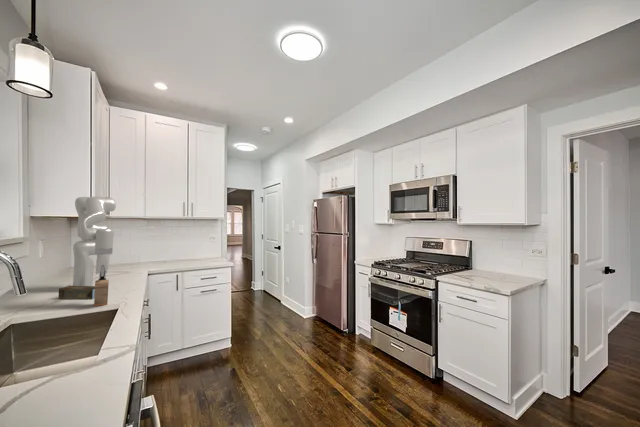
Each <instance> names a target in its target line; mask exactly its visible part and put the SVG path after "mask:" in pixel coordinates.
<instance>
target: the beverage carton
mask: <svg viewBox="0 0 640 427" xmlns="http://www.w3.org/2000/svg"><path fill="white" fill-rule="evenodd" d="M94 294H95V285H92V286H73V285H67V286H64V287H60V288H58V297H57V298H58V300H94Z"/></svg>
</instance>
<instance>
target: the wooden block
mask: <svg viewBox="0 0 640 427" xmlns="http://www.w3.org/2000/svg"><path fill="white" fill-rule="evenodd" d="M109 283H110V282H109V279H106V280H98V279H97V280H96V279H95V281H94V286H95V294H94V299H93V304H94V305H93V307H99V306H107V305H108V297H109Z"/></svg>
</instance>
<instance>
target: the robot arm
mask: <svg viewBox="0 0 640 427" xmlns="http://www.w3.org/2000/svg"><path fill="white" fill-rule="evenodd" d="M74 206H75V210H76V213H77V215H78V216H77V217H78V218H77V219H78V221H77V236H78V237H79V239H81V240H79V241H76V242H74V244H73V246H72V251H73V259H74V260H73V276H72V277H73V278H72V286H93V280H94V264H95V275H99V276H98V279H97V280H107V277H106V276H107V274H108V272H109V266H110V255H113V250H114V249H113V247H114V237H115V236H114V230H113V229H112V228H109V226H108V225H107V224H105V223H103V222H104V221H105V220H106V219H107V213H106V212H109V213H110V212H114V211H115V209H116V206H117V204H116V201H115V198H114V199H113V198H112V197H103V196H78V197H76V199H75V201H74ZM90 256H96V261H95V262H96V263H94V261H93V259H92V258H91V257H90Z"/></svg>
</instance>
